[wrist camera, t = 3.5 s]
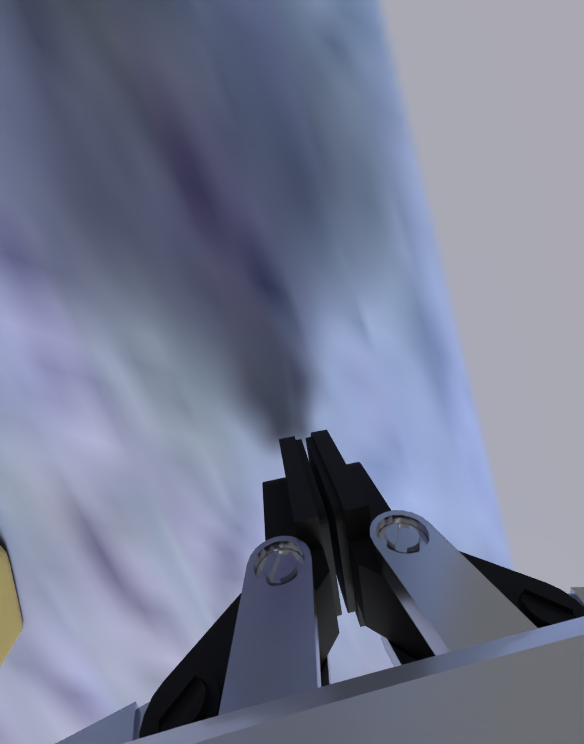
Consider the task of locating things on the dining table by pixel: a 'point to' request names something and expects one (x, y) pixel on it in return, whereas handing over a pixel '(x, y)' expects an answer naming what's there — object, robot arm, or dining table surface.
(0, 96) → the dining table surface
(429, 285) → the dining table surface
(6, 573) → the cheese
